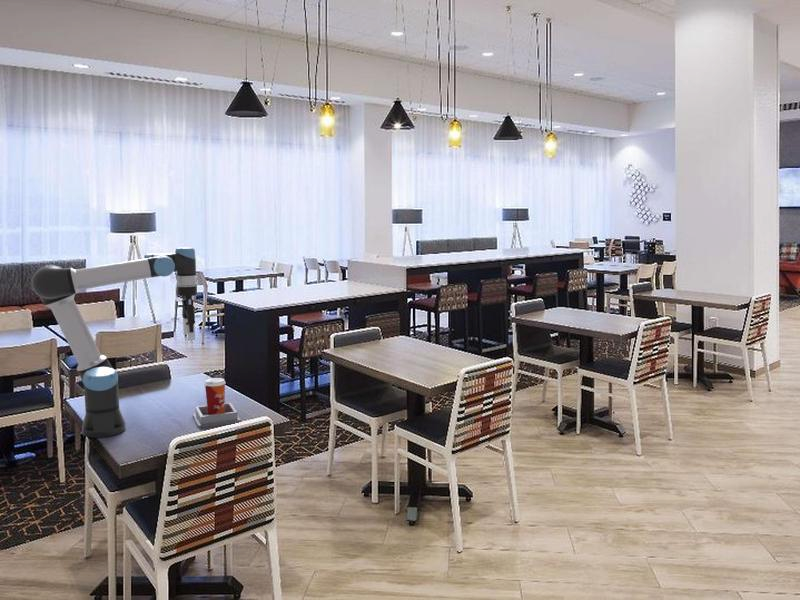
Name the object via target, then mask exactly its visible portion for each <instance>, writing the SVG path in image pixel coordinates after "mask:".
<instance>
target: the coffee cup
mask: <svg viewBox="0 0 800 600" xmlns="http://www.w3.org/2000/svg"><path fill="white" fill-rule="evenodd" d="M204 386H205V394H206V395H205V398H206V405H207V408H208V415H213V414H221V413H224V403H226V401H225V395H226V381H225V379H224V378H222V377H211V378H207V379H206V380H205V382H204Z"/></svg>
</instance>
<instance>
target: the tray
mask: <svg viewBox="0 0 800 600" xmlns="http://www.w3.org/2000/svg"><path fill="white" fill-rule="evenodd" d="M192 417H193V419H194V422H195V423H196V426H197V425H198V426H197V427H198V428H199V429H202V428H201V427H203V428H207V427H206V426H210V427H217V426H224V425H232V424H231V423H233V424H236V423H235V422H240V423H242V419H241V418H240V417H239V415H238V411H237V410H236V408H235V407H234V406H233V404H232V402H225V403H224V413H221V414H213V415H208V408H207V404H206V405H200V406H195V413H192Z"/></svg>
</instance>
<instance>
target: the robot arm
mask: <svg viewBox="0 0 800 600" xmlns="http://www.w3.org/2000/svg"><path fill="white" fill-rule="evenodd" d="M196 262H197V260H196V252H195V248H193V247H189V246H188V247H187V246H186V247H184V246H183V247H176V248H175V252H168V253H167V252H166V253H165V252H163V253H161V252H160V253H158V252H156V253H154V252H153V253H146V254H144V257H143V258H139V259H134V260H133V259H132V260H129V261H122V262H116V263H115V262H114V263H110V264H102V265H97V266H95V265H94V266H89V267H83V268H77V269H74V268H73V267H66V268H63V267H62V266H60V265H57V264H46V265H43V266H40V267H39V268H37V269H36V271H35V272H34V274H33V277H32V279H31V288H32V290H33V291H34V293H35V294H36V295H37V296H38V297H39V298H40V300H41V302H42V304H43V306H44V307H46V308H47V307H48V308H49V309H50V310H51V312H52V314H53V316H54V318H55V320H56V322H57V324H58V326H59V328H60V330H61V332H62V334H63V336H64V338H65V339H66V342H67V344H68V345H69V347H70V349H71V352H72V354H73V355H74V357H75V358H74V359H75V360H76V361H77V367H76V371H77V373H78V376H79V378H80V379H81V382H82V384H83V391H84V392H83V393H84V406H85V413H84V414H85V415H84V419H83V422H82V426H81V434H82V436H83V437H85V438H96V439H97V438H98V439H99V438H107V437H108V438H109V437H111V436H115V435H118V434H121V433H123V432H125V430H126V421H125V419H124V416H123V414H122V412H121V410H120V397H119V375H118V371H117V370H116V369H114V367H113V366H112V365H111V363H110V361H109V359H108V357H107V356H106V355H104V354H102V353H101V352H100V350H99V348H98V346H97V344H96V342H95V339H94V338H93V336H92V334H91V332H90V330H89V328H88V326H87V324H86V321H85V319H84V317H83V315H82V313H81V311H80V310H79V307H78V305H77V303H76V301H75V297H76V294H77V295H78V293H79V291H83V290H88V289H93V288H95V289H96V288H100V287H105V286H110V285H116V284H121V283H127V282H132V281H133V282H135V281H139V280H145V279H150V278H158V277H168V276H171V275H172V274H173V273H174V272H175V273H176V285H177V288H176V289H177V291H176V292H177V296H179V297H181V298H182V299H181V304H182V307H181V308H182V309H181V310H182V311H181V317H182V324H183V335H187V341H195V340H196V331H195V328H196V326H195V323H196V319H195V317H196V316H195V310H194V309H195V308H194V307H195V306H194V299H193V298H192V297H193V296H196V295H198V286H196V285H197V280H198V278H199V277H198V276H197V265H196Z"/></svg>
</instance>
